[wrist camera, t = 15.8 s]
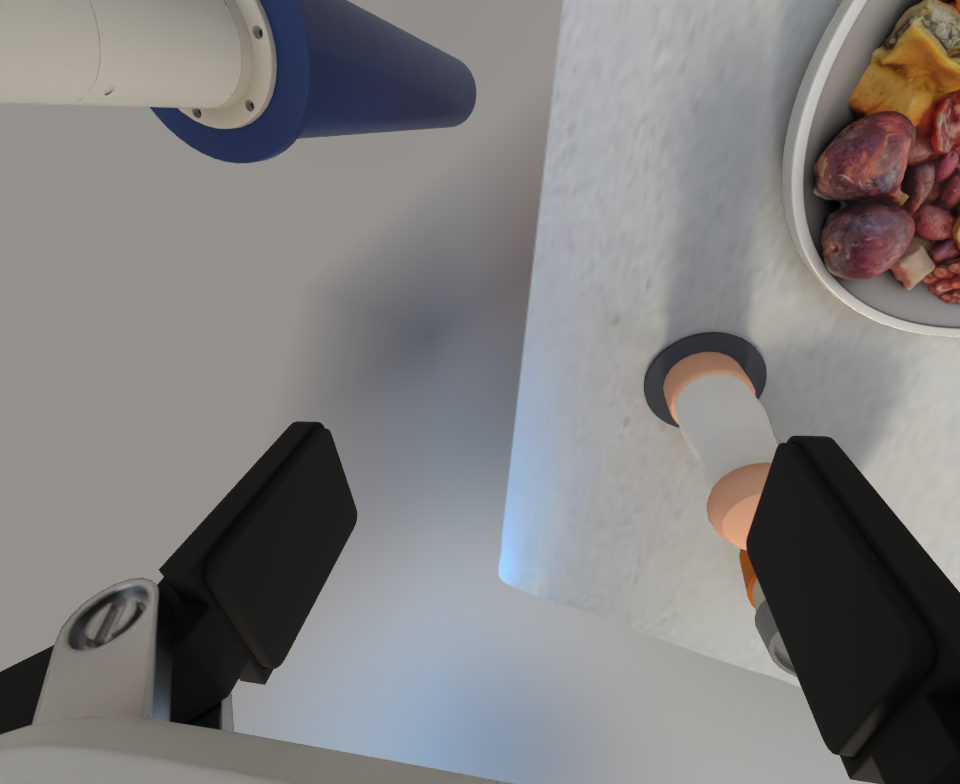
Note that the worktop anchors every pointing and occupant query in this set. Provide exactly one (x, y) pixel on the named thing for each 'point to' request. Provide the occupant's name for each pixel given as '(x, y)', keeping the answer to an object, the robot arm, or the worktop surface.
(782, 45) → the worktop surface
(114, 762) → the robot arm
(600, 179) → the worktop surface
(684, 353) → the coaster
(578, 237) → the worktop surface
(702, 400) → the salt shaker
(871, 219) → the bowl
